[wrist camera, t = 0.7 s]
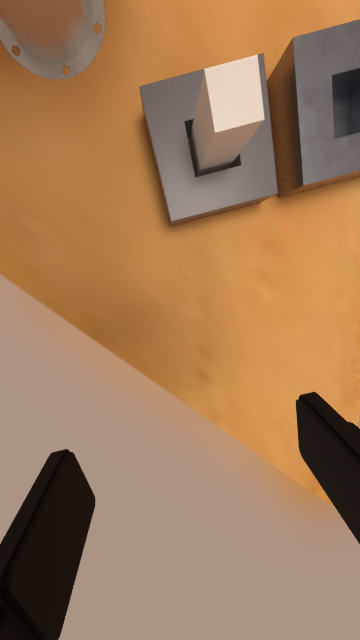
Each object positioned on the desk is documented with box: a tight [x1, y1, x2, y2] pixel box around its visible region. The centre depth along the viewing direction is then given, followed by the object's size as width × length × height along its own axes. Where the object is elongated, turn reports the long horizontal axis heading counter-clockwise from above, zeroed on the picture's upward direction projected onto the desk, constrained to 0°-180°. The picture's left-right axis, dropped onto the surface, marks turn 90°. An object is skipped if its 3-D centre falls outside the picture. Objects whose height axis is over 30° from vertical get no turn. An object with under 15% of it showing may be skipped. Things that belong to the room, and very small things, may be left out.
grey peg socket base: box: [139, 53, 278, 226], centre depth 27 cm, size 13×13×5 cm
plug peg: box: [189, 55, 265, 177], centre depth 23 cm, size 4×4×12 cm
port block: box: [267, 20, 360, 198], centre depth 26 cm, size 13×13×6 cm
